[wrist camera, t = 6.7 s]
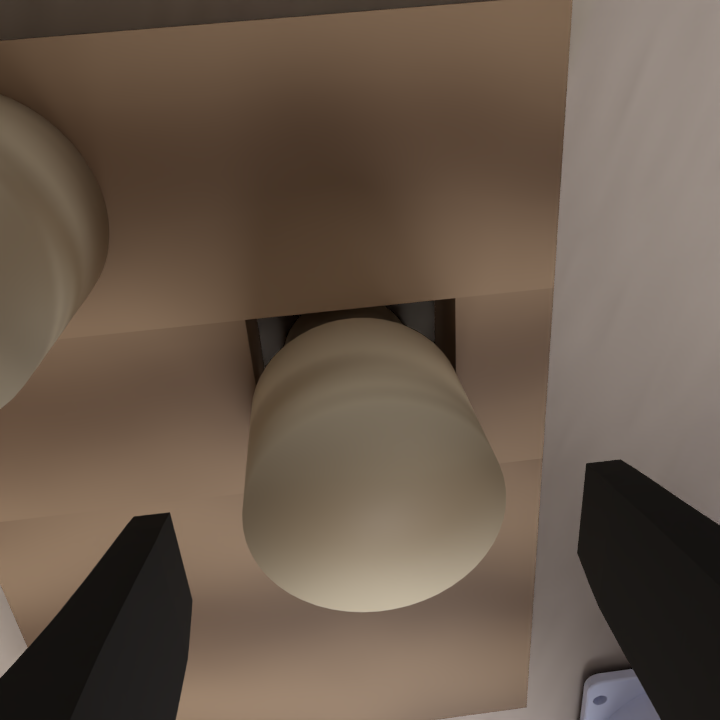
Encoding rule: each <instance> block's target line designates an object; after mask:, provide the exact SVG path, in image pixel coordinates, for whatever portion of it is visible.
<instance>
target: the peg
mask: <svg viewBox="0 0 720 720" xmlns="http://www.w3.org/2000/svg"><path fill="white" fill-rule="evenodd" d="M505 508H506V487H505V481H504V476H503V473H502V471H501V468H500V465H499V463H498V460H497V458H496V456H495V454H494V452H493V450H492V448H491V446H490V444H489V442H488V439H487V437H486V435H485V433H484V431H483V429H482V427H481V425H480V423H479V421H478V418H477V416H476V414H475V412H474V410H473V408H472V406H471V404H470V402H469V400H468V397H467V395H466V393H465V391H464V389H463V387H462V385H461V383H460V381H459V379H458V376H457V374H456V372H455V370H454V369H453V367H452V365H451V363H450V361H449V360H448V358H447V357H446V356H445V354H444V353H443V352H442V351H441V350H440V349H439V348H438V347H437V346H436V345H435V344H434V343H433V342H432V341H431V340H429V339H428V338H427V337H425V336H424V335H422V334H421V333H419V332H417V331H415V330H413V329H412V328H409V327H407V326H404V325H403V324H402V322H401V321H400V320H399V319H398V317H397V316H396V315H395V314H394V313H393V312H392V311H390V310H389V309H388V308H386V307H385V306H374V307H365V308H355V309H345V310H336V311H326V312H317V313H307V314H302V315H301V316H300V317H299V318H298V319H297V321H296V322H295V323H294V324H293V326H292V328H291V329H290V331H289V333H288V335H287V338H286V341H285V345H284V347H283V348H282V349H281V350H280V351H279V352H278V353H277V354H276V355H275V356H274V357H273V358H272V360H271V361H270V362H269V363H268V365H267V366H266V368H265V369H264V371H263V373H262V374H261V376H260V378H259V381H258V383H257V385H256V388H255V392H254V395H253V399H252V408H251V419H250V430H249V441H248V453H247V464H246V475H245V486H244V498H243V509H242V522H243V531H244V535H245V540H246V543H247V545H248V548H249V550H250V553H251V555H252V556H253V558H254V560H255V561H256V563H257V565H258V566H259V567H260V568H261V570H262V571H263V572H264V573H265V574H266V575H267V577H269V578H270V579H271V580H272V581H273V582H274V583H275V584H276V585H278V586H279V587H280V588H282V589H283V590H285V591H286V592H288V593H289V594H291V595H293V596H295V597H297V598H299V599H301V600H303V601H306V602H309V603H311V604H314V605H317V606H320V607H324V608H328V609H333V610H340V611H347V612H377V611H385V610H392V609H397V608H401V607H405V606H409V605H412V604H415V603H418V602H421V601H424V600H426V599H428V598H431V597H433V596H435V595H437V594H439V593H441V592H443V591H444V590H446V589H448V588H450V587H451V586H453V585H454V584H456V583H457V582H458V581H460V580H461V579H462V578H464V577H465V576H466V575H467V574H468V573H469V572H471V571H472V570H473V569H474V568H475V567H476V566H477V565H478V564H479V562H480V561H481V560H482V559H483V558H484V557H485V555H486V554H487V552H488V551H489V549H490V548H491V546H492V545H493V543H494V541H495V539H496V537H497V535H498V533H499V531H500V528H501V525H502V522H503V519H504V514H505Z"/></svg>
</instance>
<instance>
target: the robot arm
mask: <svg viewBox="0 0 720 720" xmlns="http://www.w3.org/2000/svg"><path fill="white" fill-rule="evenodd" d="M577 553H578V556H579V558H580V561H581V564H582V566H583V569H584V571H585V574H586V577H587V579H588V582H589V584H590V587H591V589H592V592H593V594H594V597H595V599H596V601H597V604H598V606H599V608H600V610H601V612H602V614H603V616H604V617H605V619H606V621H607V623H608V625H609V627H610V629H611V630H612V632H613V634H614V636H615V638H616V640H617V641H618V643H619V645H620V647H621V649H622V651H623V652H624V654H625V656H626V658H627V660H628V661H629V663H630V665H631V667H632V669H627V670H620V671H613V672H605V673H598V674H594V675H592V676H590V677H589V678H588V679H587V680H586V682H585V684H584V691H583V699H582V707H581V715H580V720H720V525H718V524H717V523H715V522H714V521H712V520H711V519H709V518H708V517H706V516H705V515H703V514H702V513H700V512H699V511H697V510H696V509H694V508H693V507H691V506H690V505H688V504H687V503H685V502H684V501H682V500H681V499H679V498H678V497H676V496H675V495H673V494H672V493H670V492H669V491H667V490H666V489H664V488H663V487H661V486H660V485H659V484H657V483H656V482H654V481H653V480H651V479H650V478H648V477H647V476H645V475H644V474H642V473H641V472H639V471H638V470H636V469H635V468H633V467H632V466H630V465H629V464H627V463H625V462H624V461H622V460H612V461H604V462H595V463H587V464H586V472H585V482H584V492H583V502H582V512H581V521H580V531H579V541H578V551H577ZM192 602H193V600H192V596H191V592H190V588H189V584H188V580H187V576H186V573H185V569H184V565H183V561H182V557H181V553H180V549H179V545H178V541H177V538H176V534H175V530H174V526H173V522H172V518H171V514H170V512H168V513H159V514H151V515H142V516H134V517H133V518H132V519H131V520H130V521H129V523H128V524H127V525H126V526H125V528H124V529H123V530H122V532H121V533H120V534H119V535H118V537H117V538H116V539H115V541H114V542H113V543H112V545H111V546H110V547H109V549H108V550H107V551H106V553H105V554H104V555H103V557H102V558H101V559H100V561H99V562H98V563H97V564H96V566H95V567H94V568H93V570H92V571H91V572H90V574H89V575H88V576H87V577H86V579H85V580H84V581H83V582H82V584H81V585H80V586H79V587H78V589H77V590H76V591H75V592H74V594H73V595H72V596H71V597H70V599H69V600H68V601H67V602H66V604H65V605H64V606H63V607H62V609H61V610H60V611H59V612H58V614H57V615H56V616H55V617H54V618H53V620H52V621H51V622H50V623H49V624H48V625H47V627H46V628H45V629H44V630H43V631H42V632H41V633H40V635H39V636H38V637H37V638H36V639H35V640H34V641H33V643H32V644H31V645H30V646H29V647H28V648H27V649H26V650H25V652H24V653H23V654H22V655H21V656H20V657H19V658H18V660H17V661H16V662H15V663H14V664H13V665H12V666H11V667H10V668H9V669H8V671H7V672H6V673H5V674H4V675H3V676H2V677H1V678H0V720H176V716H177V711H178V707H179V702H180V697H181V691H182V686H183V681H184V676H185V671H186V666H187V661H188V652H189V641H190V630H191V616H192Z"/></svg>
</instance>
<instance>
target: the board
mask: <svg viewBox="0 0 720 720" xmlns="http://www.w3.org/2000/svg"><path fill="white" fill-rule="evenodd" d="M571 16H572V0H495V1H482V2H470V3H458V4H445V5H433V6H421V7H408V8H396V9H384V10H372V11H359V12H347V13H335V14H322V15H310V16H298V17H285V18H273V19H261V20H248V21H236V22H224V23H211V24H199V25H187V26H174V27H162V28H150V29H137V30H125V31H113V32H100V33H88V34H76V35H63V36H51V37H39V38H26V39H14V40H2V41H0V585H1V587H2V589H3V592H4V594H5V596H6V598H7V601H8V603H9V605H10V608H11V610H12V612H13V615H14V617H15V619H16V621H17V624H18V626H19V628H20V631H21V633H22V635H23V638H24V640H25V642H26V644H27V647H29V646H30V645H31V644H32V643H33V641H34V640H35V639H36V638H37V637H38V636H39V635H40V633H41V632H42V631H43V630H44V629H45V628H46V627H47V625H48V624H49V623H50V622H51V621H52V620H53V618H54V617H55V616H56V615H57V614H58V612H59V611H60V610H61V609H62V607H63V606H64V605H65V604H66V602H67V601H68V600H69V599H70V597H71V596H72V595H73V594H74V592H75V591H76V590H77V589H78V587H79V586H80V585H81V584H82V582H83V581H84V580H85V579H86V577H87V576H88V575H89V574H90V572H91V571H92V570H93V568H94V567H95V566H96V564H97V563H98V562H99V561H100V559H101V558H102V557H103V555H104V554H105V553H106V551H107V550H108V549H109V547H110V546H111V545H112V543H113V542H114V541H115V539H116V538H117V537H118V535H119V534H120V533H121V532H122V530H123V529H124V528H125V526H126V525H127V524H128V523H129V521H130V520H131V519H132V518H133V517H134V516H142V515H151V514H159V513H168V512H170V514H171V518H172V522H173V526H174V530H175V534H176V538H177V541H178V545H179V549H180V553H181V557H182V561H183V565H184V569H185V573H186V576H187V580H188V584H189V588H190V592H191V596H192V600H193V602H192V616H191V630H190V641H189V652H188V661H187V666H186V671H185V676H184V681H183V686H182V691H181V697H180V702H179V707H178V711H177V716H176V720H437V719H445V718H452V717H459V716H467V715H474V714H481V713H489V712H496V711H503V710H510V709H518V708H525V707H526V705H527V690H528V675H529V659H530V644H531V629H532V613H533V598H534V583H535V567H536V552H537V537H538V521H539V506H540V491H541V475H542V460H543V445H544V429H545V414H546V399H547V383H548V368H549V353H550V337H551V322H552V307H553V291H554V276H555V261H556V245H557V230H558V215H559V199H560V184H561V169H562V153H563V138H564V123H565V107H566V92H567V77H568V61H569V46H570V31H571ZM432 300H434V306H435V345H436V346H437V347H438V348H439V349H440V350H441V351H442V352H443V353H444V354H445V356H446V357H447V358H448V360H449V361H450V363H451V365H452V367H453V369H454V370H455V372H456V374H457V376H458V379H459V381H460V383H461V385H462V387H463V389H464V391H465V393H466V395H467V397H468V400H469V402H470V404H471V406H472V408H473V410H474V412H475V414H476V416H477V418H478V421H479V423H480V425H481V427H482V429H483V431H484V433H485V435H486V437H487V439H488V442H489V444H490V446H491V448H492V450H493V452H494V454H495V456H496V458H497V460H498V463H499V465H500V468H501V471H502V473H503V476H504V481H505V487H506V508H505V514H504V519H503V522H502V525H501V528H500V531H499V533H498V535H497V537H496V539H495V541H494V543H493V545H492V546H491V548H490V549H489V551H488V552H487V554H486V555H485V557H484V558H483V559H482V560H481V561H480V562H479V564H478V565H477V566H476V567H475V568H474V569H473V570H472V571H471V572H469V573H468V574H467V575H466V576H465V577H464V578H462V579H461V580H460V581H458V582H457V583H456V584H454V585H453V586H451V587H450V588H448V589H446V590H444V591H443V592H441V593H439V594H437V595H435V596H433V597H431V598H428V599H426V600H424V601H421V602H418V603H415V604H412V605H409V606H405V607H401V608H397V609H392V610H385V611H377V612H347V611H340V610H333V609H328V608H324V607H320V606H317V605H314V604H311V603H309V602H306V601H303V600H301V599H299V598H297V597H295V596H293V595H291V594H289V593H288V592H286V591H285V590H283V589H282V588H280V587H279V586H278V585H276V584H275V583H274V582H273V581H272V580H271V579H270V578H269V577H267V575H266V574H265V573H264V572H263V571H262V570H261V568H260V567H259V566H258V565H257V563H256V561H255V560H254V558H253V556H252V555H251V553H250V550H249V548H248V545H247V543H246V540H245V535H244V531H243V522H242V509H243V498H244V486H245V475H246V464H247V453H248V441H249V430H250V419H251V408H252V399H253V395H254V392H255V388H256V385H257V383H258V381H259V378H260V376H261V374H262V373H263V371H264V363H263V356H262V350H261V343H260V337H259V331H258V324H257V319H259V318H269V317H278V316H288V315H297V314H307V313H317V312H326V311H336V310H345V309H355V308H365V307H374V306H384V305H393V304H403V303H413V302H422V301H432Z"/></svg>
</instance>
